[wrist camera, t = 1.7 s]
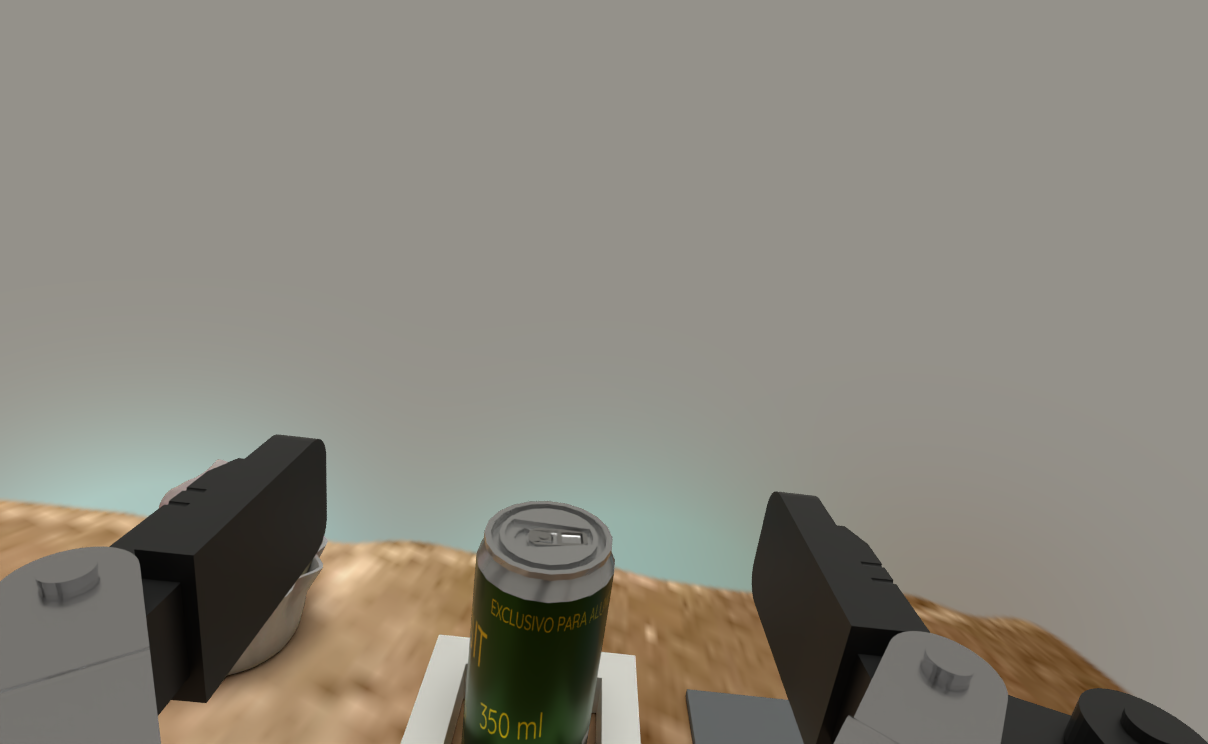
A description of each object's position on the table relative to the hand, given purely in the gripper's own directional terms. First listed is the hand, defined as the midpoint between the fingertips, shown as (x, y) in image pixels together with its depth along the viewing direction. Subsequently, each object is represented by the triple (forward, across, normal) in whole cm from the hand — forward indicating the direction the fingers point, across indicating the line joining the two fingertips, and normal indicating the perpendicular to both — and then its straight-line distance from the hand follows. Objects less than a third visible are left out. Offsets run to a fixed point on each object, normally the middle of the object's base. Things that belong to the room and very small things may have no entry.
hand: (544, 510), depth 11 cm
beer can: (+11, 0, +20) cm, 23 cm away
